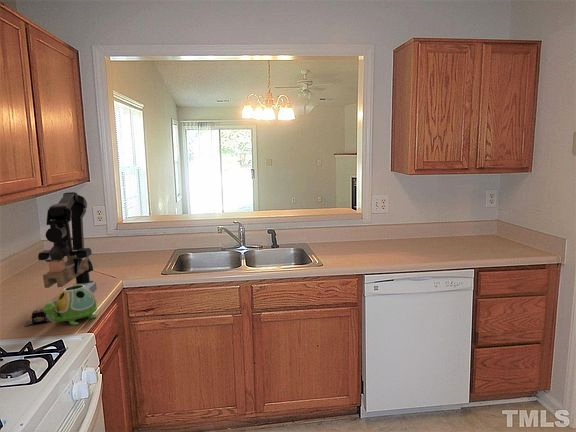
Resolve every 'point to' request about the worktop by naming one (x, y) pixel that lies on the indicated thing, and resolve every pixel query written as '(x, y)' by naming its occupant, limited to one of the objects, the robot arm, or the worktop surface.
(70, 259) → the block
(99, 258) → the worktop surface
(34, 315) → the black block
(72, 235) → the robot arm
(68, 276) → the pallet
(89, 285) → the dock
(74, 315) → the turtle holder
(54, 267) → the salmon brown cube
